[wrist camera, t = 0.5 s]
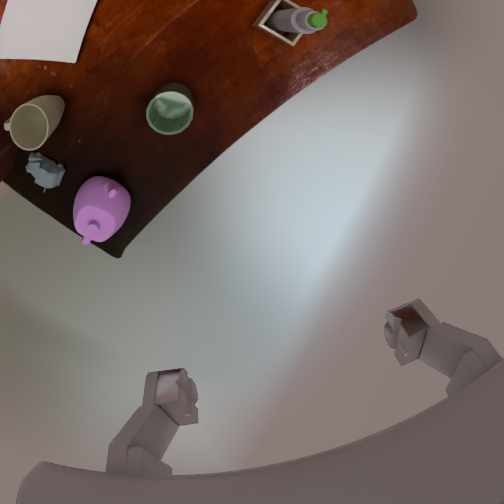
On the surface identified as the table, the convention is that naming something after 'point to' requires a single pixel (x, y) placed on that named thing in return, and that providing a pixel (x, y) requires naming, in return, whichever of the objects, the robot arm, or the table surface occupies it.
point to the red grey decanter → (6, 152)
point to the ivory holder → (288, 40)
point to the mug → (35, 121)
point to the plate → (44, 29)
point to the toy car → (45, 171)
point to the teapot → (100, 208)
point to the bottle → (297, 20)
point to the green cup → (170, 109)
